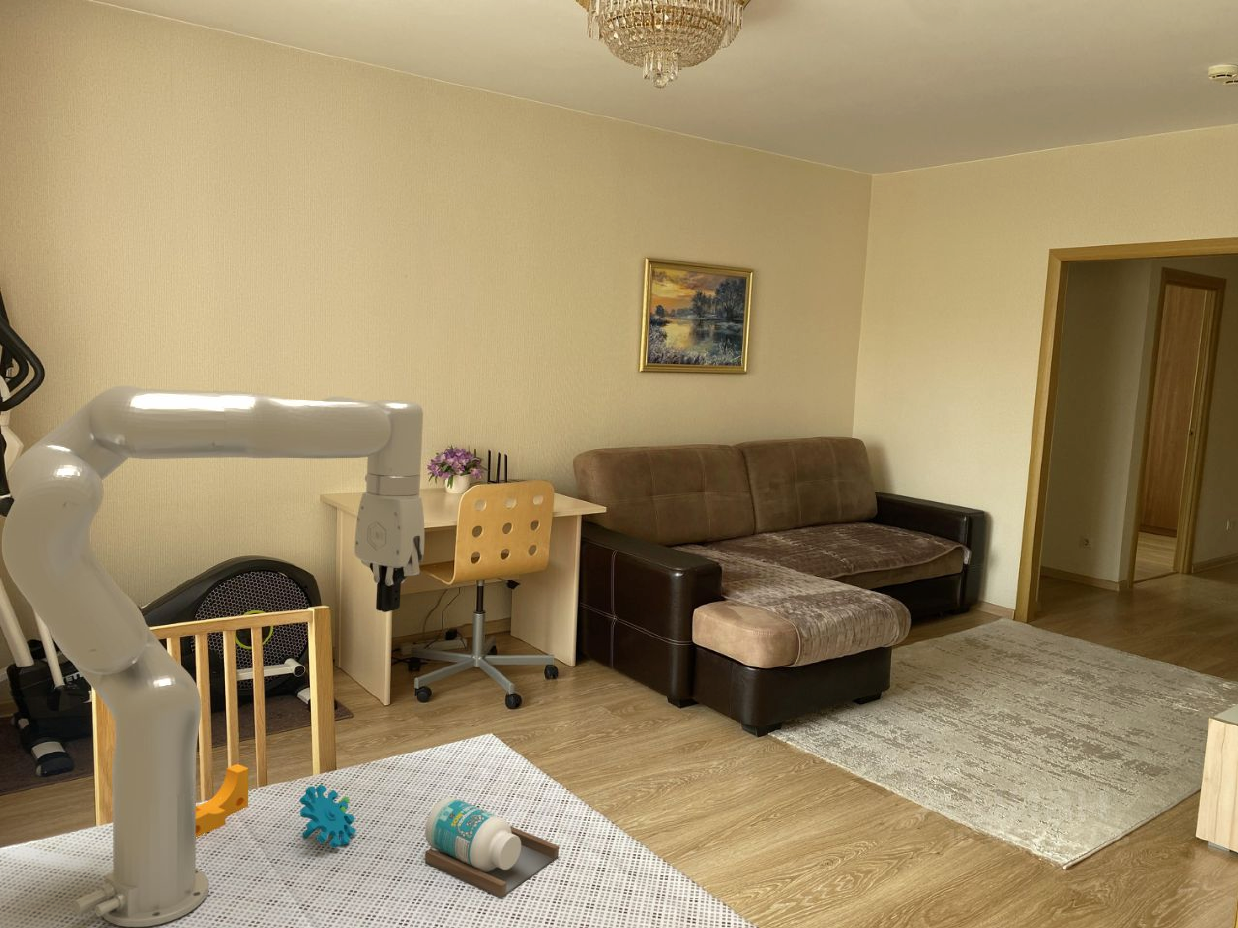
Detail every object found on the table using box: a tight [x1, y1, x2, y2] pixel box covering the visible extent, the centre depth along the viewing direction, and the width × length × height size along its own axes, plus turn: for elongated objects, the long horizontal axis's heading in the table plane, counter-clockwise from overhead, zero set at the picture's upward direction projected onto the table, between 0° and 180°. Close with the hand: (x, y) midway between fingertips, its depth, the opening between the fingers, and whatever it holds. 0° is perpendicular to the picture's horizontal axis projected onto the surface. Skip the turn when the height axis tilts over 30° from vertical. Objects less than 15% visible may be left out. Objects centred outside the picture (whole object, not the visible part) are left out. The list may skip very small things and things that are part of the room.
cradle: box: [424, 825, 560, 899], centre depth 134 cm, size 13×14×2 cm
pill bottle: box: [424, 796, 521, 872], centre depth 133 cm, size 8×7×14 cm
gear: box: [298, 784, 356, 849], centre depth 138 cm, size 11×6×10 cm
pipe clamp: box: [196, 763, 249, 837], centre depth 140 cm, size 12×4×6 cm, turn 151°
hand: (387, 608), depth 137 cm, fingers closed
